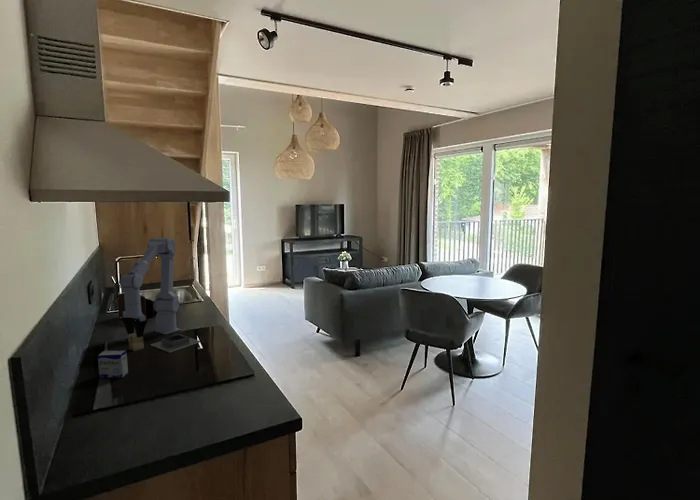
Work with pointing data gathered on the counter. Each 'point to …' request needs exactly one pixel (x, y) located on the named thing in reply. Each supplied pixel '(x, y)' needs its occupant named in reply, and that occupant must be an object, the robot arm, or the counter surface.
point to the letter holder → (146, 307)
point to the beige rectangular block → (135, 342)
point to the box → (112, 364)
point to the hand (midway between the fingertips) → (135, 335)
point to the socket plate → (174, 343)
